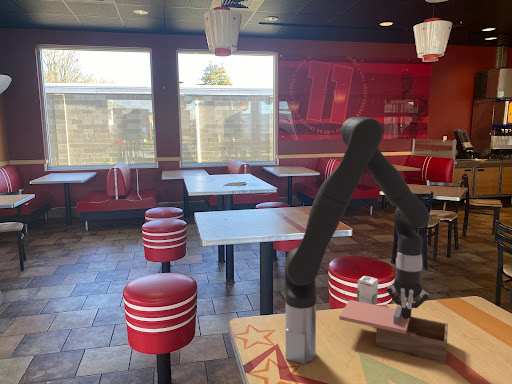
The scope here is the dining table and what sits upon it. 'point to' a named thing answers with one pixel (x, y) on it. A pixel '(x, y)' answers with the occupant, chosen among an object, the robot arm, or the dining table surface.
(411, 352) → the toolbox
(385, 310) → the toolbox lid
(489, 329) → the dining table surface
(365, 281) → the syrup box
